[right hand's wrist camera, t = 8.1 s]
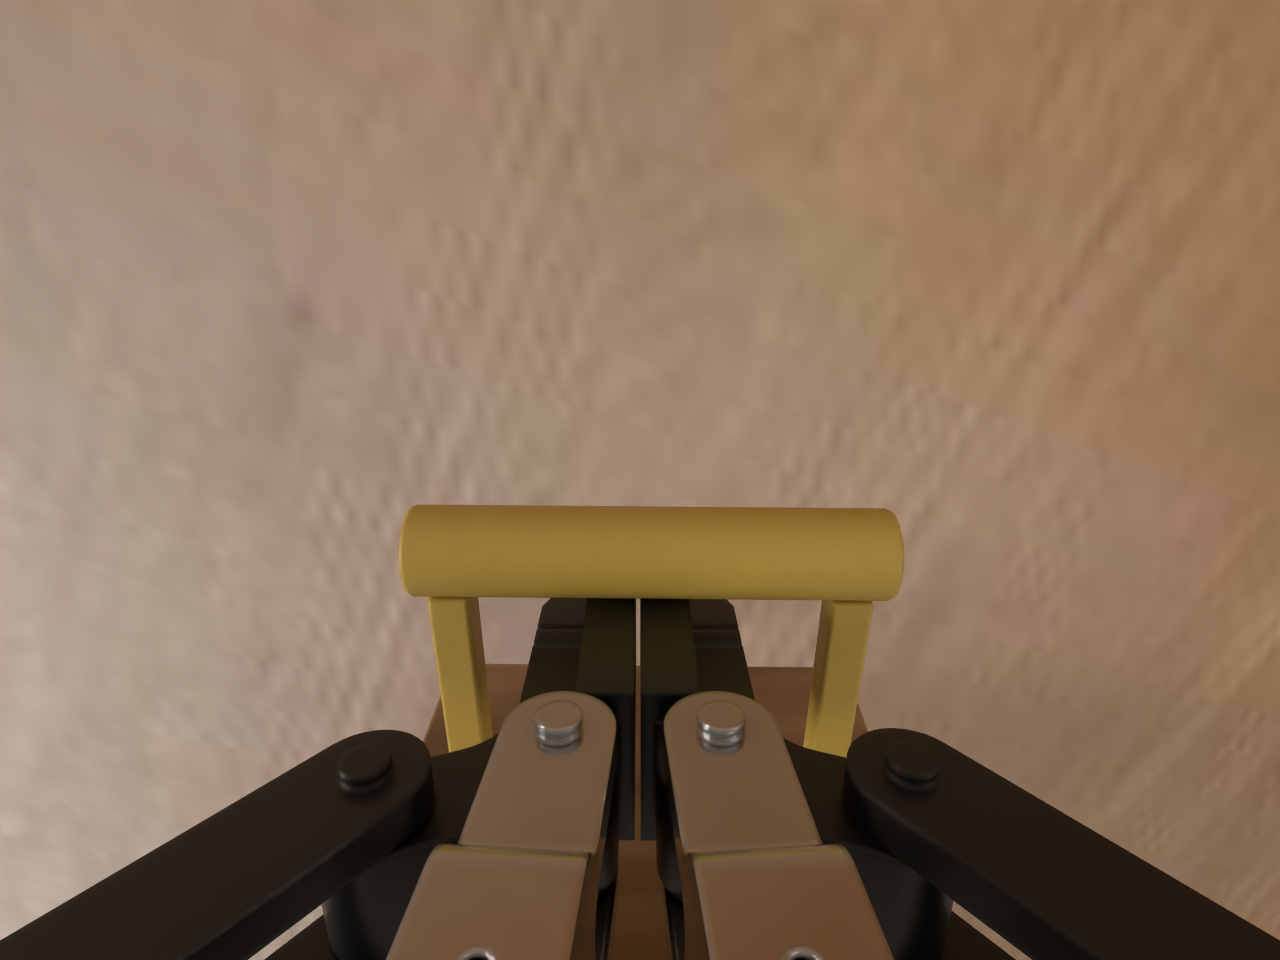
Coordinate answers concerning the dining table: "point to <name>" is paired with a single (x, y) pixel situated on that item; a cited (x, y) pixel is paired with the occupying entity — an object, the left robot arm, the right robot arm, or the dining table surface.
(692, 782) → the right robot arm
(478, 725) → the drawer
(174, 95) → the dining table surface
